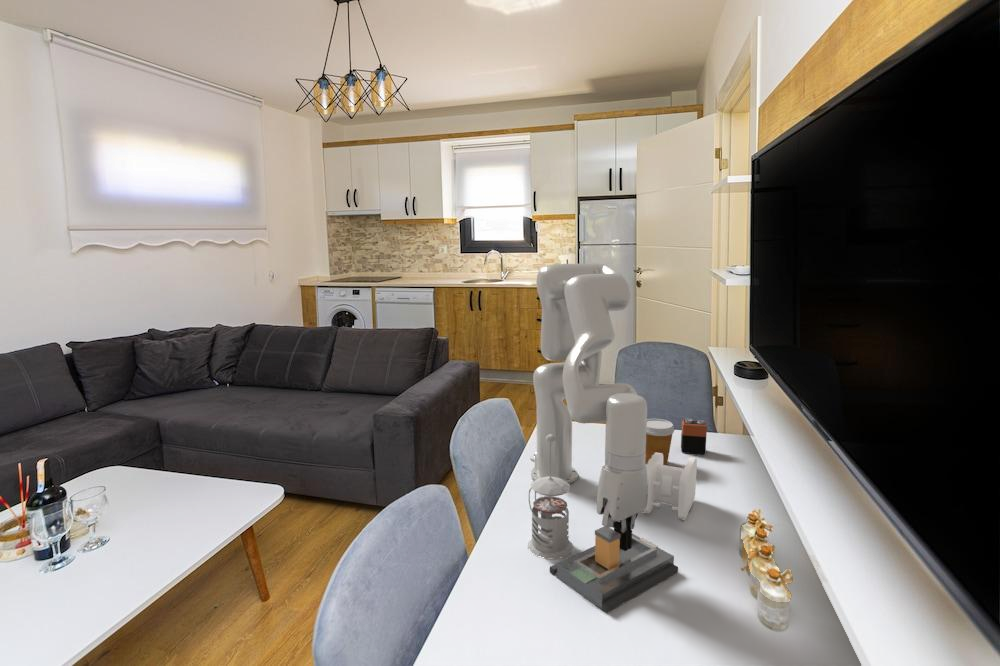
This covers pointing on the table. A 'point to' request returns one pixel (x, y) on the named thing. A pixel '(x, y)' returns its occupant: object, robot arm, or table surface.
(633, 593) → the dark grey thin bar
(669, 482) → the cable organizer
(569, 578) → the panel
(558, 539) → the french press
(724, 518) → the table surface
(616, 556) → the lever
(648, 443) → the disposable coffee cup
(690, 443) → the battery
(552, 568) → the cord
